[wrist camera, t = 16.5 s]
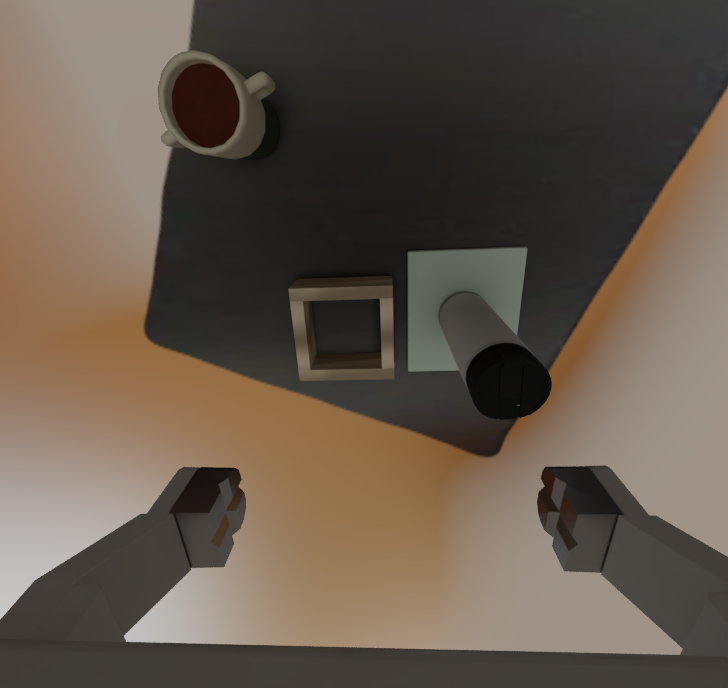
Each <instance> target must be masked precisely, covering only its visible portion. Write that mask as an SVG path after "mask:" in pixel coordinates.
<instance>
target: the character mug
mask: <svg viewBox="0 0 728 688" xmlns="http://www.w3.org/2000/svg"><path fill="white" fill-rule="evenodd" d="M274 90H275V82H274V81H273V80H272V79H271V78H270V77H269V76H268V75H267V74H266V73H265V72H259V73H257V74H255V75H253V76H252V77H250V78H248V79H246V78H244V77H243V76H242V75H241V74H240V73H239V72H237V71H236V70H235V69H234V68H232V67H231V66H230V65H229V64H227V63H225V62H223V61H221V60H219V59H218V58H216V57H215V56H213V55H211V54H208V53H203V52H199V51H194V50H192V51H187V52H182V53H180V54H177V55H176V56H174V57H173V58H172V59H171V60H170V61H169V62H168V63H167V65H166V66H165V68H164V69H163V71H162V73H161V78H160V82H159V86H158V98H159V109H160V112H161V114H162V117H163V119H164V122H165V125H166V127H167V128H168V131H166V132H165V133H164V134H163V135H162V136H161V141H162V142H163V143H164V144H166V145H167V146H170V147H175V148H184V147H187V148H189V149H191V150H192V151H194V152H196V153H200V154H205V155H211V156H216V157H222V158H229V159H238V158H242V157H246V158H248V159H261V158H263V157H265V156H267V155H268V154H270V153H272V151H273V149H274V148H275V146H276V144H277V142H278V137H279V123H278V120H277V116H276V112H275V111H274V110H273V108H272V107H271V106H270V104H269V103H268V102H267V100H265V99H263V98H265V97H266V96H268V95H269V94H271V93H272V92H273V91H274Z"/></svg>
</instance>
